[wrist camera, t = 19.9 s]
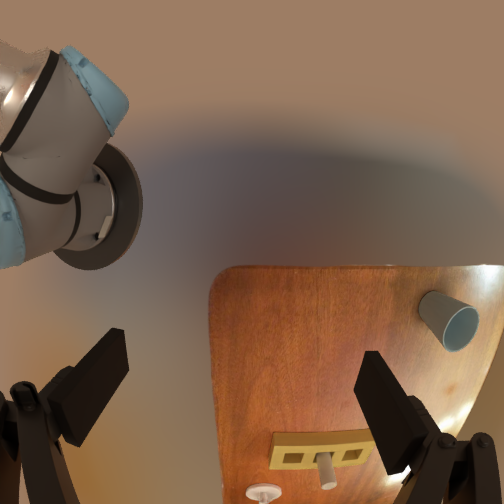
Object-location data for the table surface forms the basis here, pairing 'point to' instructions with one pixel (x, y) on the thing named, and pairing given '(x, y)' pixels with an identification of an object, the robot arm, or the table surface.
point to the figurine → (263, 492)
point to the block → (319, 448)
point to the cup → (449, 320)
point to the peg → (326, 470)
